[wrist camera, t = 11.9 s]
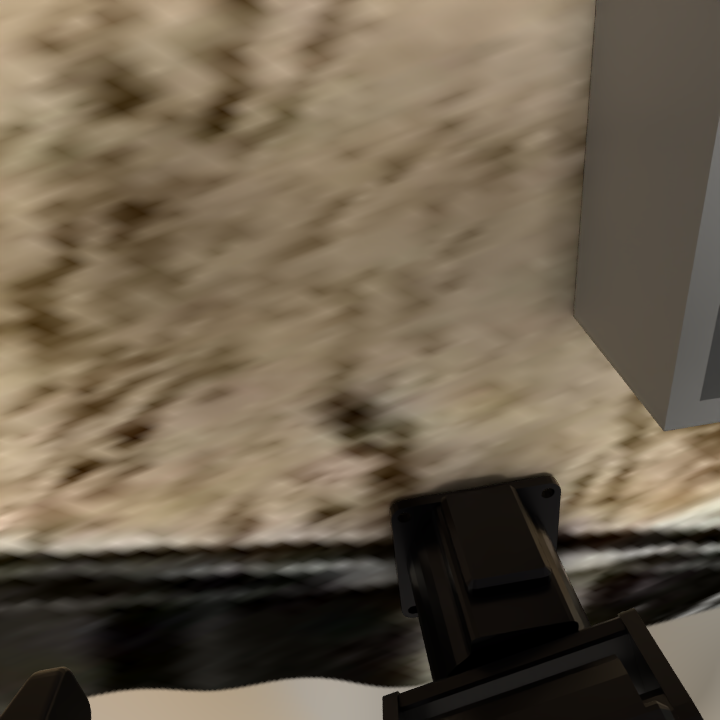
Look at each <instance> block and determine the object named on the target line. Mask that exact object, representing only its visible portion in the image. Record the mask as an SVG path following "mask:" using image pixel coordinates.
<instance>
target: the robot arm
mask: <svg viewBox="0 0 720 720" xmlns="http://www.w3.org/2000/svg"><path fill="white" fill-rule="evenodd" d="M547 488H549V489H547ZM545 489H547V490H545ZM544 490H545V491H544ZM560 496H561V489H560V486H559V484H558V482H557V480H556V479H555V478H554V477H551V476H543V477H537V478H531V479H525V480H519V481H513V482H507V483H502V484H496V485H490V486H484V487H478V488H472V489H466V490H460V491H454V492H448V493H442V494H436V495H431V496H425V497H419V498H413V499H407V500H401V501H398V502H396V503H394V504H393V505H392V506H391V508H390V520H391V529H392V537H393V545H394V554H395V562H396V570H397V579H398V587H399V595H400V604H401V609H402V613H403V615H405V616H406V617H410V618H412V617H418V618H419V622H420V626H421V631H422V635H423V640H424V644H425V648H426V653H427V657H428V662H429V666H430V670H431V675H432V679H433V682H431V683H428V684H426V685H423V686H420V687H417V688H414V689H411V690H409V691H406V692H403V693H399V692H398V691H397V692H394V693H391V694H388V695H386V696H383V699H382V700H383V720H703V718H702V716H701V714H700V713H699V711H698V709H697V708H696V706H695V704H694V703H693V701H692V699H691V698H690V696H689V695H688V693H687V691H686V690H685V688H684V687H683V685H682V683H681V682H680V680H679V679H678V677H677V675H676V674H675V672H674V671H673V669H672V667H671V666H670V664H669V663H668V661H667V659H666V658H665V656H664V655H663V653H662V652H661V650H660V649H659V647H658V645H657V644H656V642H655V640H654V639H653V637H652V636H651V634H650V632H649V631H648V629H647V628H646V626H645V624H644V623H643V621H642V620H641V618H640V616H639V615H638V613H637V612H636V610H635V609H634V608H633V609H630V610H627V611H624V612H621V613H619V614H618V616H619V617H616V618H614V619H611V620H608V621H605V622H602V623H599V624H596V625H594V626H591V625H590V623H589V621H588V619H587V616H586V614H585V612H584V610H583V608H582V606H581V604H580V602H579V599H578V597H577V595H576V593H575V591H574V589H573V587H572V584H571V582H570V580H569V578H568V576H567V574H566V572H565V569H564V567H563V565H562V563H561V561H560V559H559V557H558V555H557V552H556V551H557V537H558V524H559V510H560ZM402 513H406V514H404V515H400V514H402ZM0 720H91V709H90V704H89V701H88V699H87V697H86V695H85V694H84V692H83V690H82V688H81V687H80V685H79V683H78V682H77V680H76V678H75V677H74V675H73V673H72V672H71V670H70V669H68V668H66V667H58V668H53V669H47V670H41V671H38V672H36V673H34V674H33V675H32V676H30V677H29V678H28V680H27V681H26V682H25V684H24V685H23V686H22V688H21V689H20V690H19V692H18V693H17V694H16V696H15V697H14V698H13V700H12V701H11V702H10V704H9V705H8V706H7V708H6V709H5V710H4V712H3V713H2V714H1V716H0Z"/></svg>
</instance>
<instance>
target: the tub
mask: <svg viewBox="0 0 720 720" xmlns="http://www.w3.org/2000/svg"><path fill="white" fill-rule="evenodd" d="M573 316H574V318H575V319H576V320H577V321H578V323H579V324H580V325H581V327H582V328H583V329H584V330H585V332H586V333H587V334H588V335H589V337H590V338H591V339H592V341H593V342H594V343H595V344H596V346H597V347H598V348H599V349H600V351H601V352H602V353H603V355H604V356H605V357H606V358H607V360H608V361H609V362H610V363H611V365H612V366H613V367H614V369H615V370H616V371H617V372H618V374H619V375H620V376H621V377H622V379H623V380H624V381H625V382H626V384H627V385H628V386H629V388H630V389H631V390H632V391H633V393H634V394H635V395H636V396H637V398H638V399H639V400H640V402H641V403H642V404H643V405H644V407H645V408H646V409H647V410H648V412H649V413H650V414H651V416H652V417H653V418H654V419H655V421H656V422H657V423H658V424H659V426H660V427H661V428H662V429H663V431H669V430H675V429H680V428H686V427H692V426H698V425H704V424H710V423H716V422H720V0H597V2H596V15H595V29H594V43H593V56H592V70H591V84H590V97H589V111H588V125H587V138H586V152H585V165H584V179H583V193H582V206H581V220H580V234H579V247H578V261H577V275H576V288H575V302H574V315H573Z"/></svg>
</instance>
